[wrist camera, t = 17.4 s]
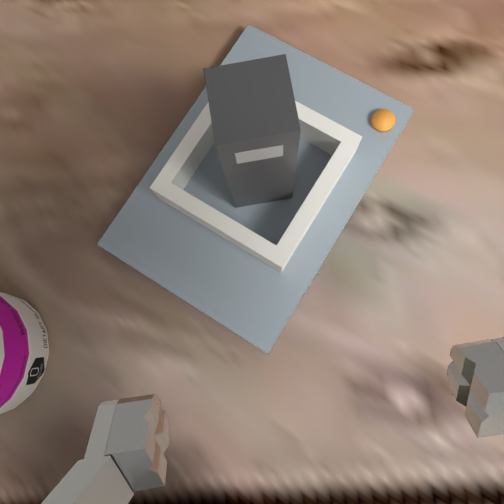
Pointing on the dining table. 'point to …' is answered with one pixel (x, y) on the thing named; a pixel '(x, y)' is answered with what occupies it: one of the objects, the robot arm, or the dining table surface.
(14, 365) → the supplement can
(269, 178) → the plug
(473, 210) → the dining table surface
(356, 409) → the dining table surface
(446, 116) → the dining table surface
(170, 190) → the socket base
